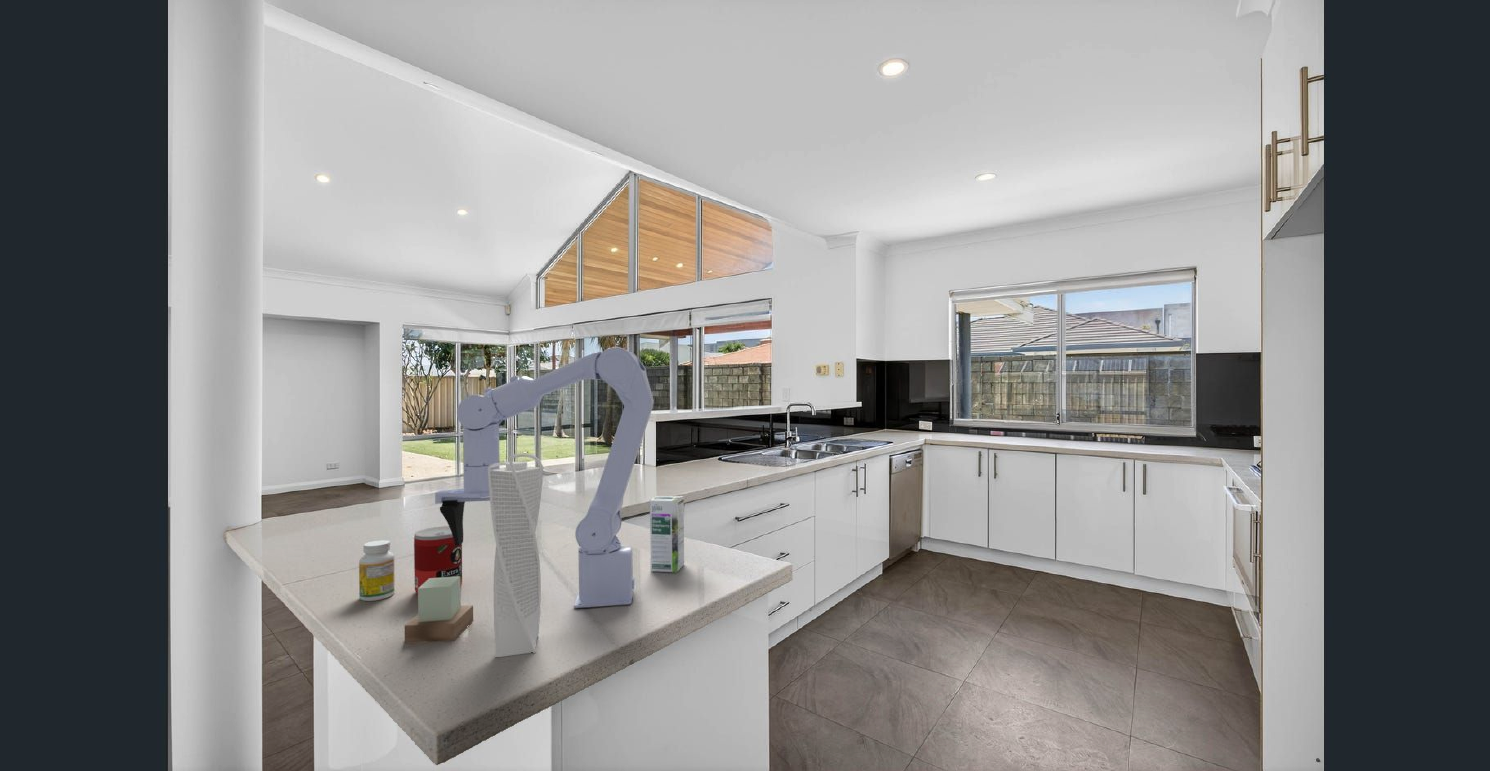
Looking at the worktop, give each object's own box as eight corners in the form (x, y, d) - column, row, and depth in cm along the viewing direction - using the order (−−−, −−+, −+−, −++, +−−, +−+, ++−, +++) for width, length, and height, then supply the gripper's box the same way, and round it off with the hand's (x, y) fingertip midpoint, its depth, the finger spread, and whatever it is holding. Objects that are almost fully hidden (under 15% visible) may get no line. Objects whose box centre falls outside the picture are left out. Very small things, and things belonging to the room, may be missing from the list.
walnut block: (473, 623, 90) (473, 605, 90) (454, 643, 83) (453, 623, 83) (427, 625, 90) (427, 607, 90) (404, 645, 83) (404, 625, 83)
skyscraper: (543, 655, 78) (541, 453, 78) (484, 664, 76) (482, 455, 76) (546, 632, 85) (544, 447, 86) (493, 639, 83) (491, 449, 83)
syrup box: (649, 572, 113) (648, 499, 113) (658, 563, 119) (658, 494, 119) (677, 573, 112) (676, 500, 112) (685, 564, 118) (684, 494, 118)
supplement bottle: (391, 599, 100) (391, 544, 100) (355, 603, 98) (355, 548, 98) (397, 589, 105) (396, 537, 105) (363, 593, 103) (362, 541, 103)
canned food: (442, 599, 100) (442, 537, 100) (403, 596, 101) (403, 535, 101) (472, 584, 107) (471, 526, 107) (435, 582, 109) (434, 525, 109)
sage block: (460, 607, 89) (460, 576, 89) (451, 619, 84) (450, 586, 84) (429, 610, 88) (429, 578, 88) (418, 622, 84) (417, 588, 84)
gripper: (427, 469, 93) (428, 551, 93) (519, 466, 95) (520, 546, 95) (443, 463, 100) (444, 540, 100) (529, 460, 102) (530, 535, 102)
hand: (482, 542), depth 98 cm, fingers open, 7 cm apart
